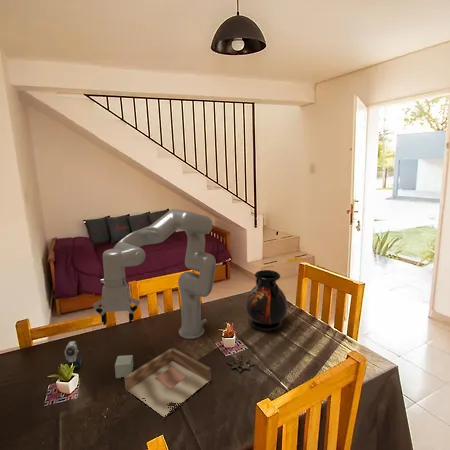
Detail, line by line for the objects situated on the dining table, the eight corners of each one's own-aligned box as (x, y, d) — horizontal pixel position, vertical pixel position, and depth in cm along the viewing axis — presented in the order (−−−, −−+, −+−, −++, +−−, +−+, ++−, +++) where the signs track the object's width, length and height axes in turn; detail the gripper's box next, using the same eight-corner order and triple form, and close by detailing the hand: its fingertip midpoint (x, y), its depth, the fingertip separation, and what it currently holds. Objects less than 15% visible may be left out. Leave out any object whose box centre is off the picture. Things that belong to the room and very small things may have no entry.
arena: (172, 359, 142) (172, 347, 141) (210, 381, 129) (210, 368, 128) (125, 390, 124) (124, 376, 123) (164, 419, 111) (163, 404, 109)
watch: (64, 373, 133) (61, 349, 131) (68, 361, 141) (66, 338, 139) (79, 371, 135) (76, 347, 132) (82, 359, 142) (80, 337, 140)
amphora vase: (238, 319, 177) (238, 270, 170) (271, 311, 186) (273, 264, 179) (258, 339, 158) (260, 285, 151) (295, 329, 167) (298, 278, 160)
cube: (118, 368, 137) (117, 356, 135) (133, 367, 137) (132, 355, 136) (115, 378, 131) (114, 365, 130) (131, 377, 132) (130, 364, 130)
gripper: (88, 286, 119) (92, 329, 123) (137, 284, 122) (139, 325, 126) (93, 278, 127) (97, 319, 130) (139, 276, 129) (141, 316, 133)
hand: (118, 322), depth 128 cm, fingers open, 9 cm apart
